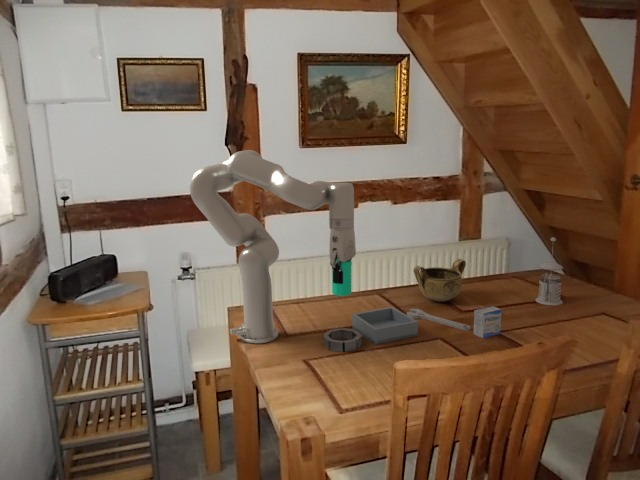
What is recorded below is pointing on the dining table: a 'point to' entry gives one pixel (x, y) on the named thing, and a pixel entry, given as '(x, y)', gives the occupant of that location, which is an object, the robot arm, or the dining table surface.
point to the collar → (341, 346)
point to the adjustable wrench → (436, 319)
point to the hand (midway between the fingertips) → (342, 279)
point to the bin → (384, 325)
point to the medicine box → (487, 322)
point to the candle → (345, 286)
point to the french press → (549, 284)
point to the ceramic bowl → (440, 281)
